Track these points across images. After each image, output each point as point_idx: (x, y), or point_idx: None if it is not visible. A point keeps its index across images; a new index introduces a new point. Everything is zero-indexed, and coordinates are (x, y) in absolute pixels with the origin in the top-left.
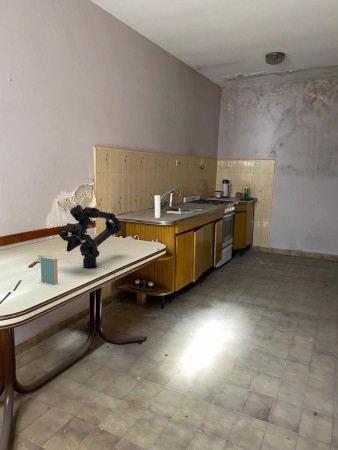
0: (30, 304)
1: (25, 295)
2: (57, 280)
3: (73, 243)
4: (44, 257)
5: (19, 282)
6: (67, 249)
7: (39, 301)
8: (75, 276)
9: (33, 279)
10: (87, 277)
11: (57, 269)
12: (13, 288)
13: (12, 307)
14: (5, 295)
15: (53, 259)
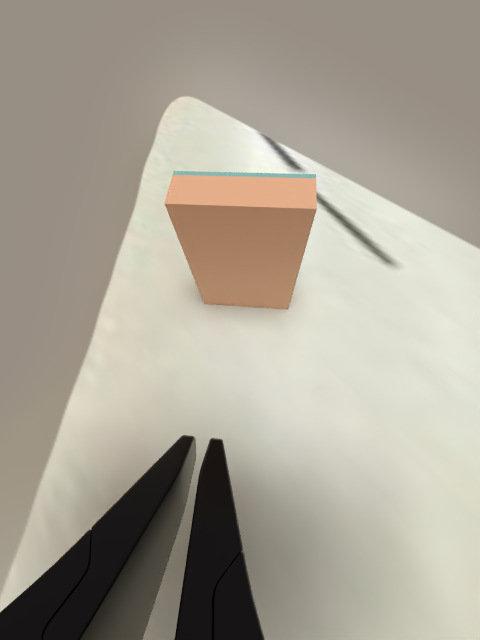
0: (164, 139)
1: (228, 170)
2: (201, 295)
3: (37, 584)
4: (282, 183)
5: (366, 241)
6: (207, 453)
7: (152, 159)
8: (175, 432)
9: (348, 292)
10: (95, 448)
11: (188, 263)
12: (322, 192)
13: (197, 115)
14: (287, 149)
15: (174, 175)
